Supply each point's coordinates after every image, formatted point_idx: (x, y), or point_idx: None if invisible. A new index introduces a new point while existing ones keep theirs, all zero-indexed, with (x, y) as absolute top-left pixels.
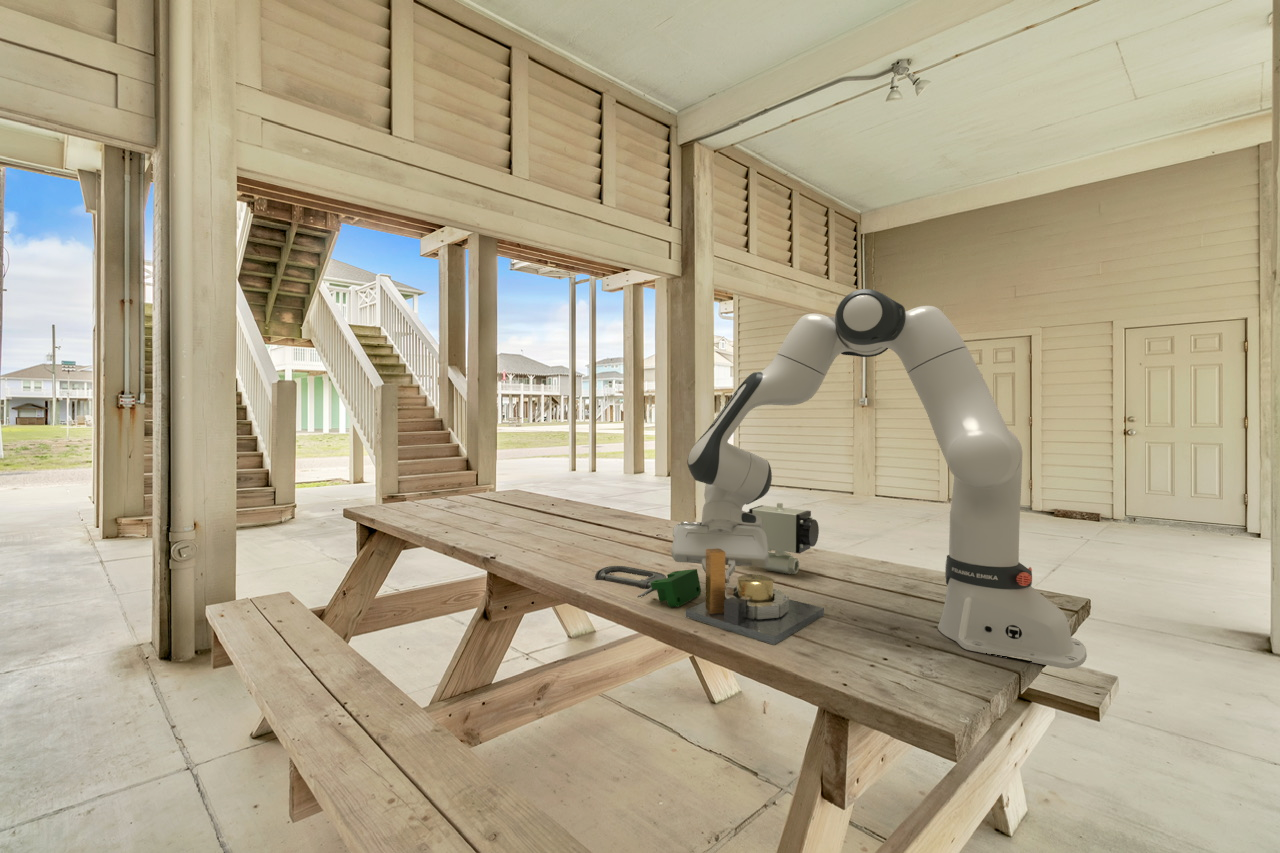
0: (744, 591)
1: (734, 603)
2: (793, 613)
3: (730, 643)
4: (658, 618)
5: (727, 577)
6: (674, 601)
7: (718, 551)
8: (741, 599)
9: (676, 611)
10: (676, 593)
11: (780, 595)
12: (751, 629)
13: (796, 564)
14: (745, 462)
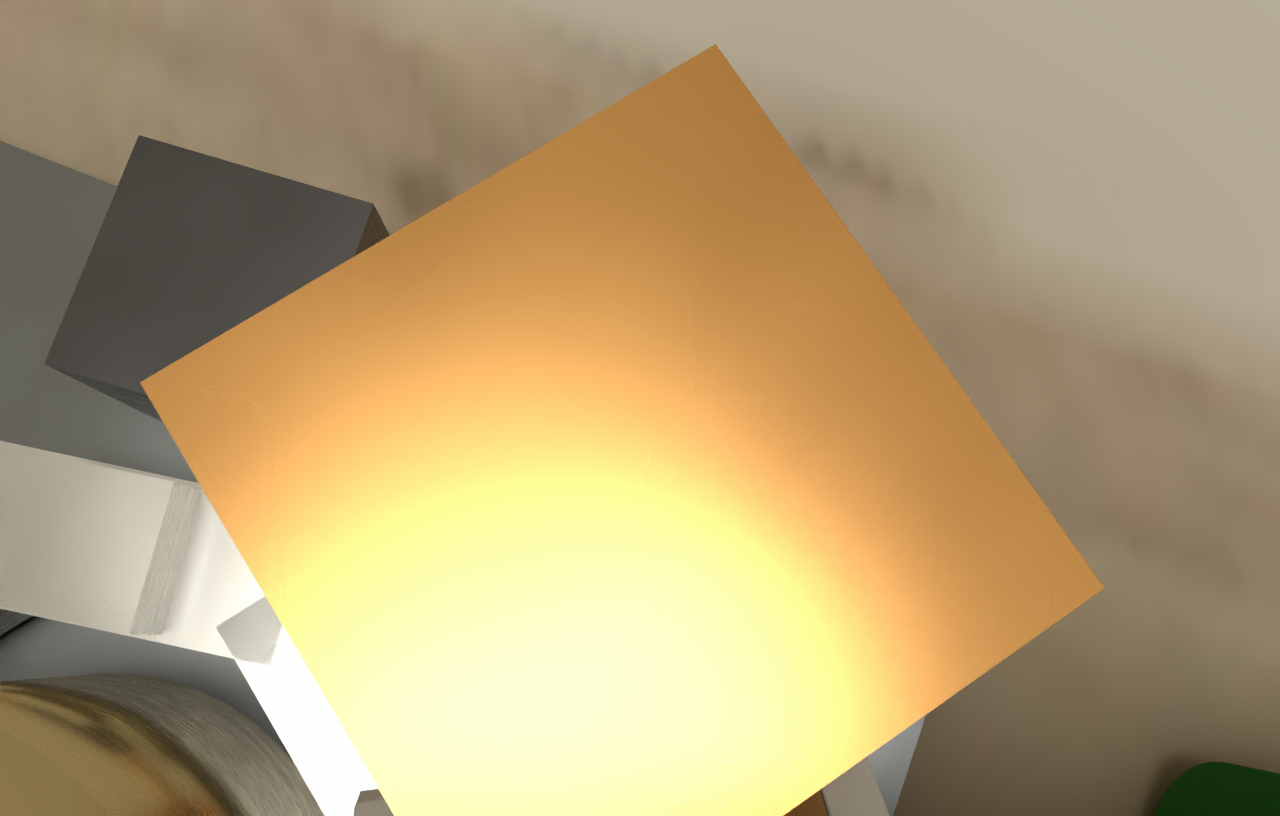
0: (91, 722)
1: (203, 154)
2: None
3: (307, 11)
4: (1228, 390)
5: (383, 813)
6: (1238, 766)
7: (454, 376)
8: (117, 366)
9: (1129, 695)
10: None
11: None
12: (74, 180)
13: None
14: None
